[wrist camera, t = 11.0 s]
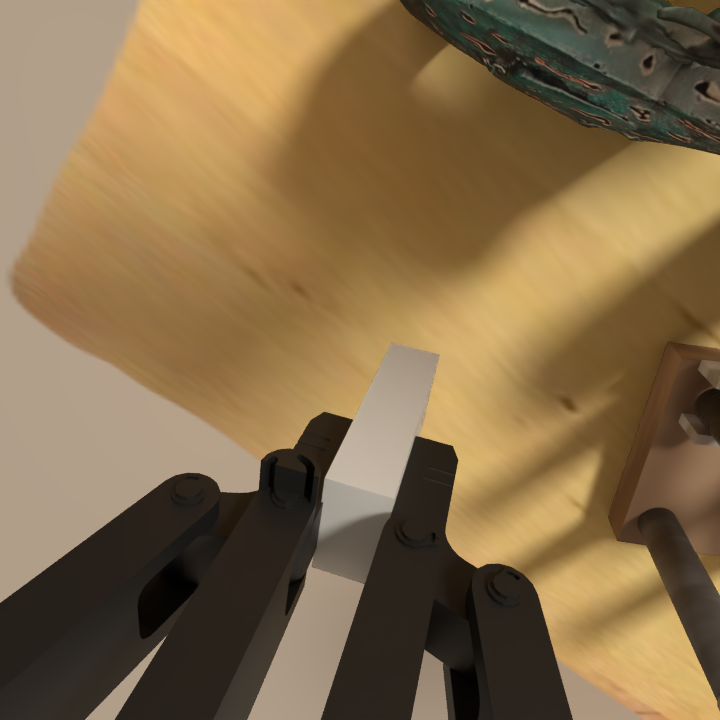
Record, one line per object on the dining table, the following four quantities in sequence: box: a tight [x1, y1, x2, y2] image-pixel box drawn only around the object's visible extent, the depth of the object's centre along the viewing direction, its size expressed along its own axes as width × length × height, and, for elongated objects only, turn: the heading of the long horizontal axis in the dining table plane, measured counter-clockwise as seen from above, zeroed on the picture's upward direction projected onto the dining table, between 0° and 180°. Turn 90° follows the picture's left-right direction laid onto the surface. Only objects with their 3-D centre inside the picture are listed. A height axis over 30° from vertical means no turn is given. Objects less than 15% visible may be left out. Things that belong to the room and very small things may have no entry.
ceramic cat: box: [400, 0, 720, 155], centre depth 29 cm, size 20×6×20 cm, turn 68°
